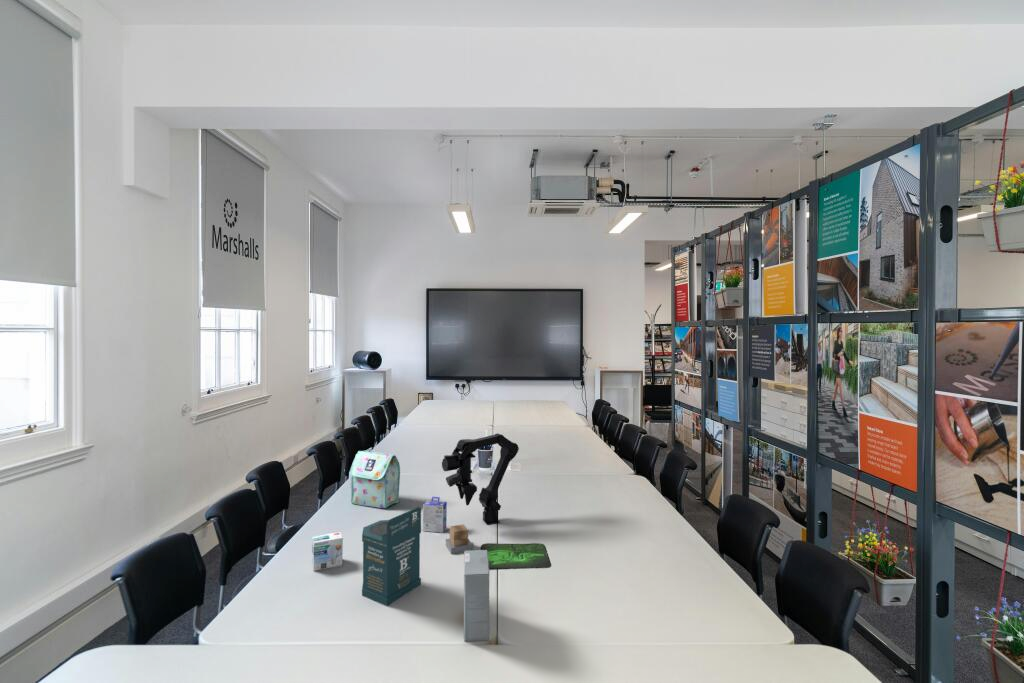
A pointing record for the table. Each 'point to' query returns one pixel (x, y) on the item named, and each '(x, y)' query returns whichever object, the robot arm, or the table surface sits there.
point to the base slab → (458, 547)
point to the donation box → (391, 557)
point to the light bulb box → (327, 551)
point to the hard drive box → (476, 595)
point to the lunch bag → (375, 479)
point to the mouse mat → (517, 556)
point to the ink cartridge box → (434, 515)
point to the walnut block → (458, 535)
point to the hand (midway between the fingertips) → (464, 501)
